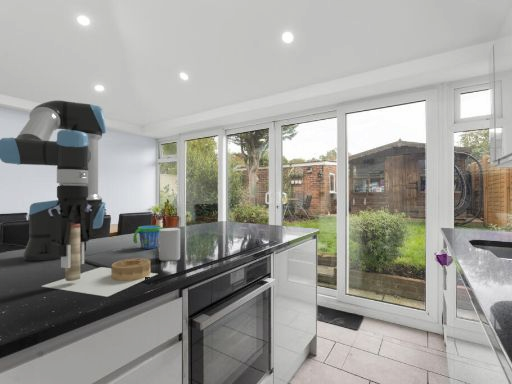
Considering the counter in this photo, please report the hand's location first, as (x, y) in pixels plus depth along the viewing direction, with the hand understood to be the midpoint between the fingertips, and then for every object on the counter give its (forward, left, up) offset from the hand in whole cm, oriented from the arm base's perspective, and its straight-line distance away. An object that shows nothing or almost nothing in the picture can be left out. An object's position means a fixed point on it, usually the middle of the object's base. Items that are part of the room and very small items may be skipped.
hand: (72, 265), depth 78 cm
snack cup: (-14, +50, -6) cm, 52 cm away
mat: (+5, +6, -6) cm, 10 cm away
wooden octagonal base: (+10, +12, -5) cm, 17 cm away
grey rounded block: (+8, +35, -6) cm, 36 cm away
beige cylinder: (0, 0, -4) cm, 4 cm away
